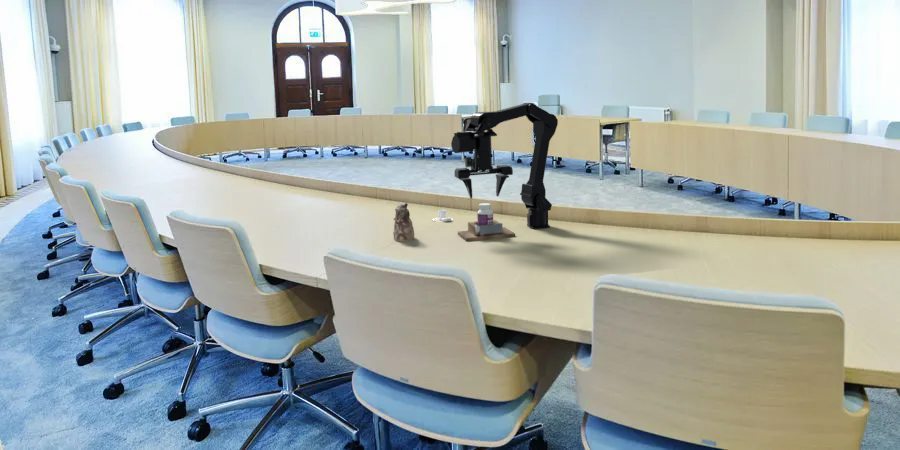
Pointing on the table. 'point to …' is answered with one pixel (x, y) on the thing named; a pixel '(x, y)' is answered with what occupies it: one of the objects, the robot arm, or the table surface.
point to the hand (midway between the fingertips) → (484, 197)
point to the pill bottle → (485, 214)
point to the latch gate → (488, 229)
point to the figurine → (403, 224)
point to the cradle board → (471, 235)
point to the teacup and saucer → (443, 216)
